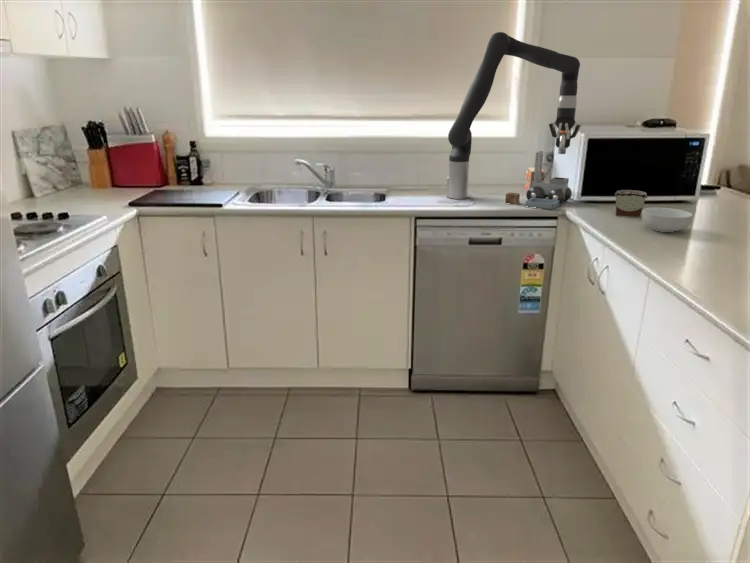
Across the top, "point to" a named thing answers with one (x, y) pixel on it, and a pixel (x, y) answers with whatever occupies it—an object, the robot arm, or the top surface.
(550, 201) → the tray
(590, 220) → the top surface
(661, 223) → the cereal bowl
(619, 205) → the food container
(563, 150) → the pin
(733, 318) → the top surface
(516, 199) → the block
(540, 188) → the trolley
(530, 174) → the stack of blocks
